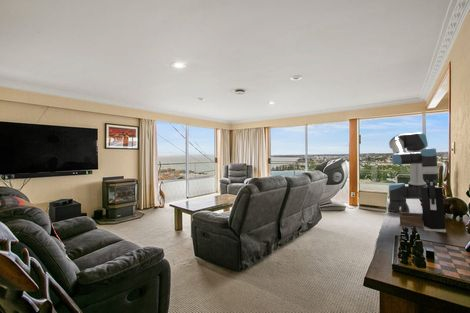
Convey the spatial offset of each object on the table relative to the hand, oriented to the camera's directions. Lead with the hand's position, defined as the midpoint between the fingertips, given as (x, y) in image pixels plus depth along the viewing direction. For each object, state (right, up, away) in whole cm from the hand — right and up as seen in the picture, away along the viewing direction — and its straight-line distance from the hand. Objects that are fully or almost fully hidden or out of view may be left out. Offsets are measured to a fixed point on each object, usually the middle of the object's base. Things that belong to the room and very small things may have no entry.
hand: (432, 207), depth 147 cm
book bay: (-2, -14, +14) cm, 20 cm away
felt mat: (+1, -13, -1) cm, 13 cm away
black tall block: (0, -12, -1) cm, 12 cm away
